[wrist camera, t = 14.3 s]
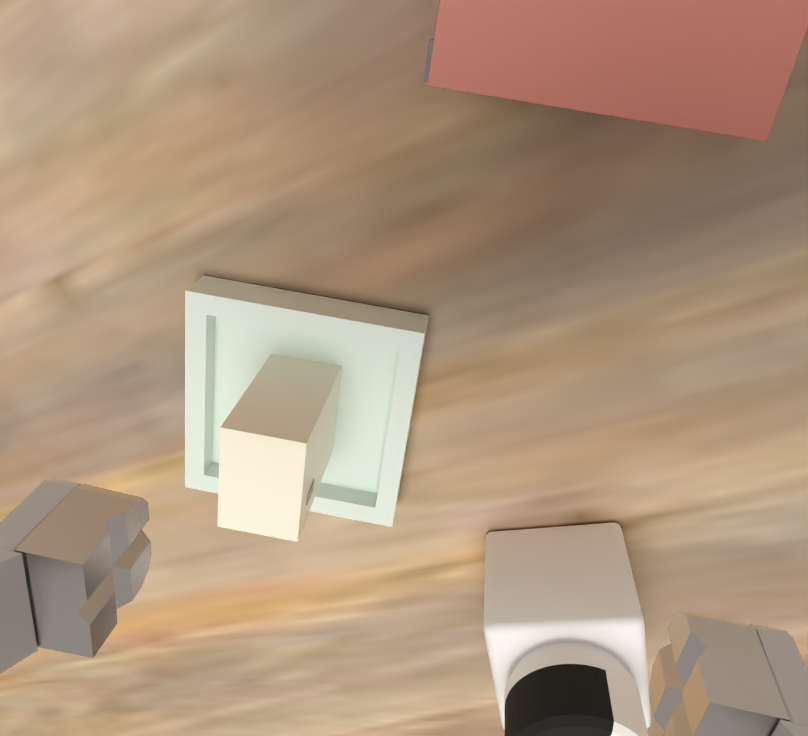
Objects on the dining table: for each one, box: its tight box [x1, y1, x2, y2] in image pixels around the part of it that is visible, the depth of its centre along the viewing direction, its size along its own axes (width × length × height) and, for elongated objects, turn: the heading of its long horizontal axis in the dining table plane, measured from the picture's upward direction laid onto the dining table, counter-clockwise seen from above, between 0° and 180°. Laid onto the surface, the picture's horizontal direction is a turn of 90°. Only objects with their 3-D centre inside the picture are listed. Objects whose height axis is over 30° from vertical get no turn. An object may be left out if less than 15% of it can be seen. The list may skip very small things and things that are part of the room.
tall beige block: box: [218, 354, 342, 542], centre depth 32 cm, size 4×5×7 cm
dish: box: [185, 275, 429, 527], centre depth 35 cm, size 11×11×2 cm
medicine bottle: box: [484, 523, 651, 736], centre depth 34 cm, size 7×7×12 cm
